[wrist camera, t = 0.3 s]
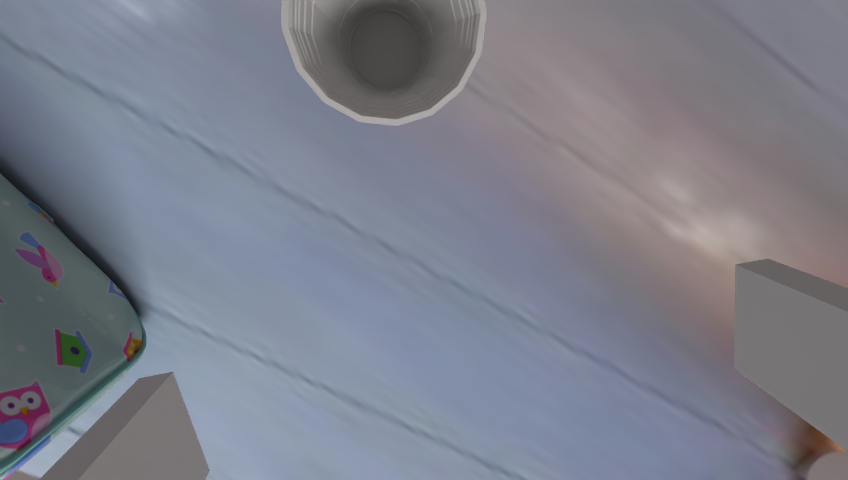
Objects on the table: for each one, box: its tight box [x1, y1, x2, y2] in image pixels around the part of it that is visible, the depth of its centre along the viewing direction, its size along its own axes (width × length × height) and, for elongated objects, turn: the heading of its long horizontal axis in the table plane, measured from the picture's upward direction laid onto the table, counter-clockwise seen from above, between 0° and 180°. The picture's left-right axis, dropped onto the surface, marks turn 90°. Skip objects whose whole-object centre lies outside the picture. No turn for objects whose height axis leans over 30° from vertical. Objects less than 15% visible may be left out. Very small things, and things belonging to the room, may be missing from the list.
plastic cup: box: [281, 0, 487, 126], centre depth 29 cm, size 11×11×12 cm
